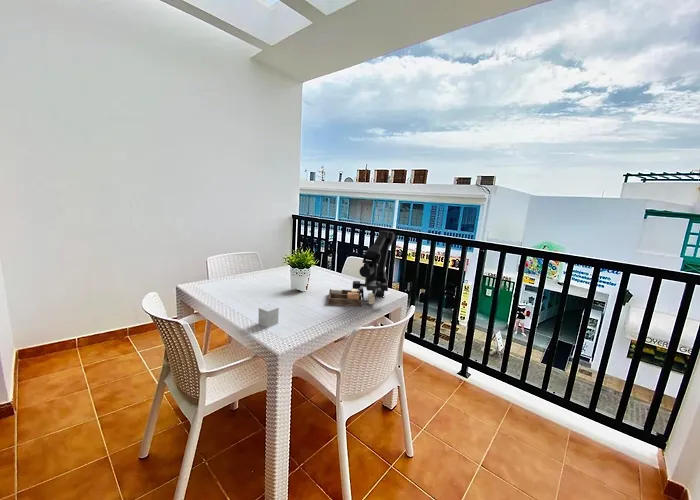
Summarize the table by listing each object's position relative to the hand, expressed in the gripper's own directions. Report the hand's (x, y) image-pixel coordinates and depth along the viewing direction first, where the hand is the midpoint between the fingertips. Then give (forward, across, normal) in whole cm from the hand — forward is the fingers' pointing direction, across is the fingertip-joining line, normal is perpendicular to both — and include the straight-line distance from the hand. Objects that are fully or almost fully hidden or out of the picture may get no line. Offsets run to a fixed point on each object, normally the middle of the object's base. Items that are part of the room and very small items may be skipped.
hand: (368, 301), depth 150 cm
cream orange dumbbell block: (+1, -4, 0) cm, 4 cm away
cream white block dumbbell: (+1, -14, +7) cm, 15 cm away
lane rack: (+2, -13, +4) cm, 13 cm away
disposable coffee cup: (+2, -39, +17) cm, 42 cm away
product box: (+2, -46, -30) cm, 55 cm away
